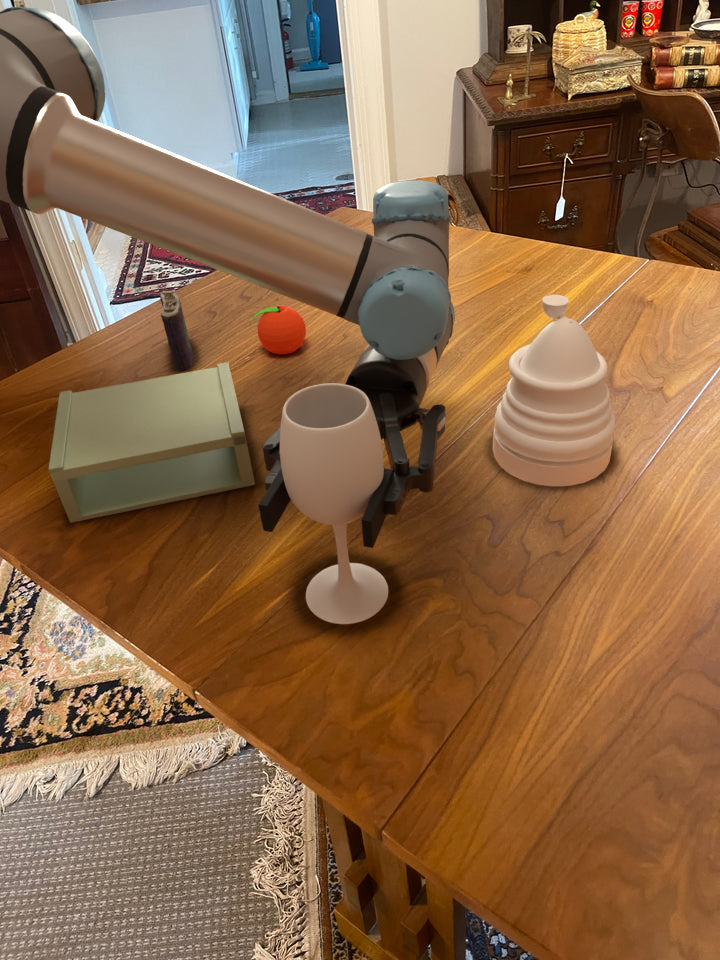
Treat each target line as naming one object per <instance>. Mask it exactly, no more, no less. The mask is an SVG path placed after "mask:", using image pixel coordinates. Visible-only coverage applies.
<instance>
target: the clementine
mask: <svg viewBox="0 0 720 960" xmlns="http://www.w3.org/2000/svg"><path fill="white" fill-rule="evenodd" d="M260 315H261V316H260ZM257 316H260V318H259V320H258V323H257V337H258V340H259V342H260V343H261V345H262V346H263V347H264V349H266V350H267V351H268V352H270V353H273V354H276V355H280V356H281V355H282V356H283V355H289V354H292V353H295V351H297V350H298V349H300V348H301V346H302V345H303V343H304V341H305V338H306V335H307V327H306V324H305V319H304V318H303V316H302V315H301V314H300V313H299V311H297V310H296V309H295V308H292V307H290V306H288V305H285V304H283V305H282V304H281V305H280V304H279V305H274V306H269V307H266V308H263V309H261V310H260V311H258V312H257V313H256V314H254V315H253V316H252V318H251V319H250V322H249V327H250V326H251V323H252V321H253V320H254V319H255V317H257Z"/></svg>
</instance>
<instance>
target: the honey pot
mask: <svg viewBox="0 0 720 960" xmlns="http://www.w3.org/2000/svg"><path fill="white" fill-rule="evenodd" d="M569 304H570V299H569V298H568V297H567V296H565V295H561V294H549V295H545V296H544V297H542V308H543V312H544V314H545V315H546V316H547V317H548V318H550V319H553V320H552V321H551V322H549V323H548V324H547V325H546V326H545V327H543V329H542V330H541V331H540V332H539V333H538V334H537V336H536V337H535V338H534V339H533V341H532V342H531V343H529V344H527V345H523V346H522V347H520V348H519V349H517V350H515V351H514V353H513V354H512V355H511V356H510V358H509V361H508V369H509V373H510V375H511V376H512V377H511V378H510V380H509V381H507V384H506V387H505V391H504V393H503V395H502V399H501V401H500V402H499V403H498V404H497V406H496V410H495V414H494V419H493V420H494V422H493V434H492V453H493V458H494V460H495V461H496V463H497V464H498V465H499V467H500V468H501V469H503V470H504V471H505V472H506V473H508V474H509V475H511V476H512V477H515V478H517V479H519V480H521V481H523V482H527V483H531V484H534V485H537V486H544V487H545V486H546V487H552V488H553V487H571V486H577V485H580V484H584V483H587V482H589V481H591V480H593V479H596V478H597V477H599V476H600V475H601V474H602V473H604V472H605V471H606V469H607V468H608V465H609V464H610V461H611V455H612V449H613V444H614V438H615V431H616V416H615V414H614V411H613V409H612V408H613V406H612V405H613V404H612V400H611V391H610V389H609V387H608V384H607V383H606V379H605V378H606V377H607V375H608V373H609V372H608V370H609V366H608V365H609V364H608V362H607V360H606V359H605V357H604V356H603V355H602V354H601V353H600V352H598V351H596V348H595V346H594V344H593V342H592V339H591V338H590V336H589V334H588V333H587V331H586V330H585V329H584V327H583V326H582V325H581V324H580V323H579V322H577V321H576V320H574V319H573V318H569V317H567V316H566V315H565V313H566V311H567V309H568V307H569Z"/></svg>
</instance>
